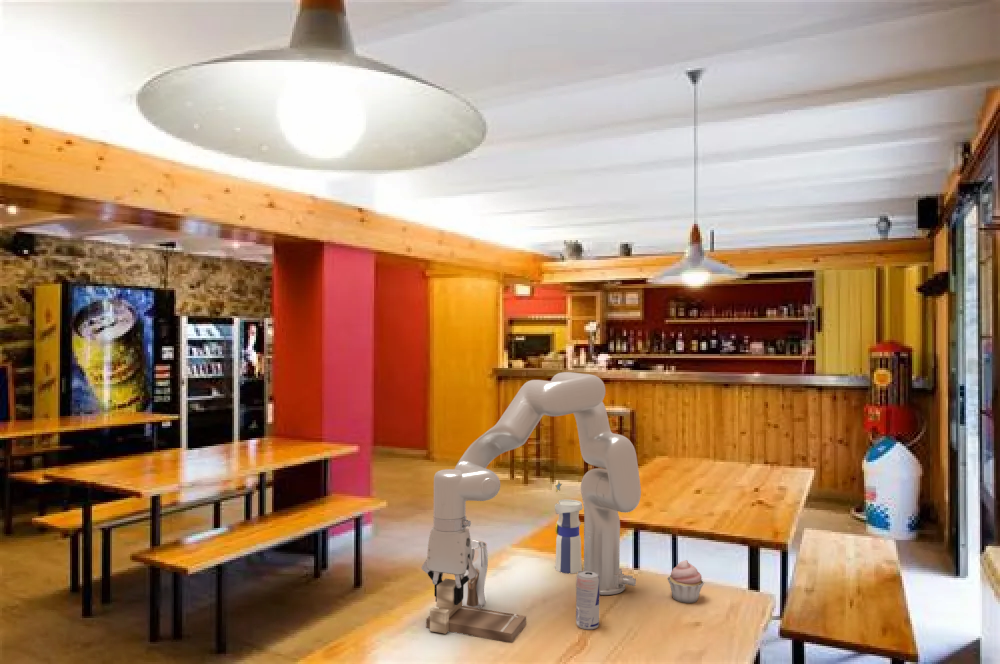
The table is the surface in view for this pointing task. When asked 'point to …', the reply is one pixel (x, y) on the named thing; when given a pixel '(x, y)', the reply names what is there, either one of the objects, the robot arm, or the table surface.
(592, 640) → the table surface
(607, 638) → the table surface
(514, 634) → the board
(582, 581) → the energy drink
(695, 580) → the cupcake
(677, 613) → the table surface
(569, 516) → the water bottle
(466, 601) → the beer glass
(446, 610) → the stacked wooden blocks
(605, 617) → the table surface
